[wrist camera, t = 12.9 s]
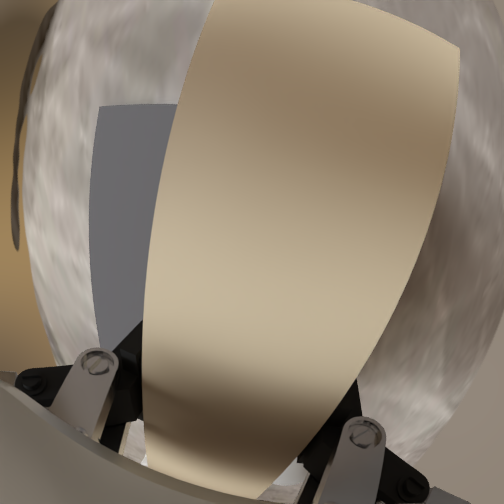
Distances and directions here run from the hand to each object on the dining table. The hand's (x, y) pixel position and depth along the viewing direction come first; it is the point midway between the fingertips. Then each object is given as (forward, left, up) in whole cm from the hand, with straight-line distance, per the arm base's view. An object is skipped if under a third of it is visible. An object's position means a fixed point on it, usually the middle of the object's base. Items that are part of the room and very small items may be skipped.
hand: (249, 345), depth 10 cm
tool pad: (+3, -13, -12) cm, 18 cm away
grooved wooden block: (0, 0, -2) cm, 2 cm away
